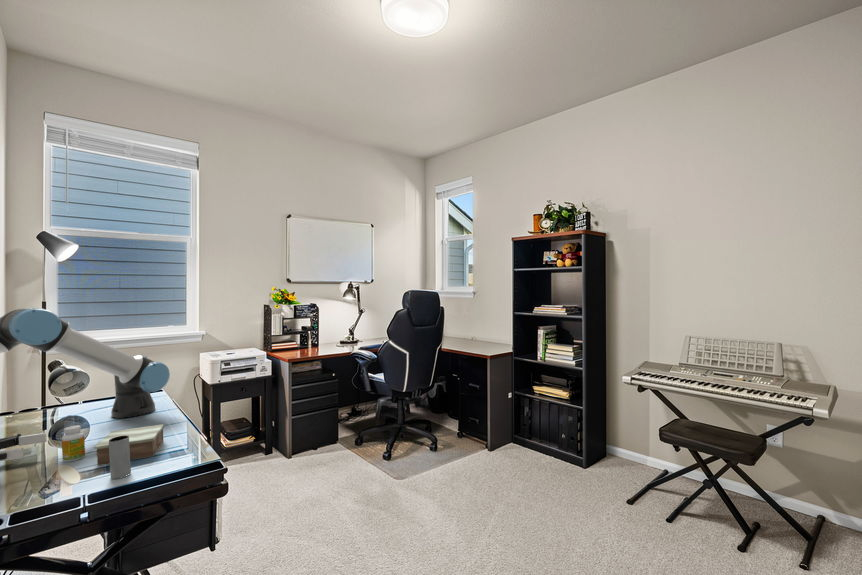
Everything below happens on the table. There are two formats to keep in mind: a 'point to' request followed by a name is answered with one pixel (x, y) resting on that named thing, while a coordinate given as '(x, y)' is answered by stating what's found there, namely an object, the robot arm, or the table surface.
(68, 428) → the supplement bottle
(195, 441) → the table surface
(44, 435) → the robot arm
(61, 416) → the table surface
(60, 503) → the table surface
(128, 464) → the grey hollow cylinder
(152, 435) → the podium
